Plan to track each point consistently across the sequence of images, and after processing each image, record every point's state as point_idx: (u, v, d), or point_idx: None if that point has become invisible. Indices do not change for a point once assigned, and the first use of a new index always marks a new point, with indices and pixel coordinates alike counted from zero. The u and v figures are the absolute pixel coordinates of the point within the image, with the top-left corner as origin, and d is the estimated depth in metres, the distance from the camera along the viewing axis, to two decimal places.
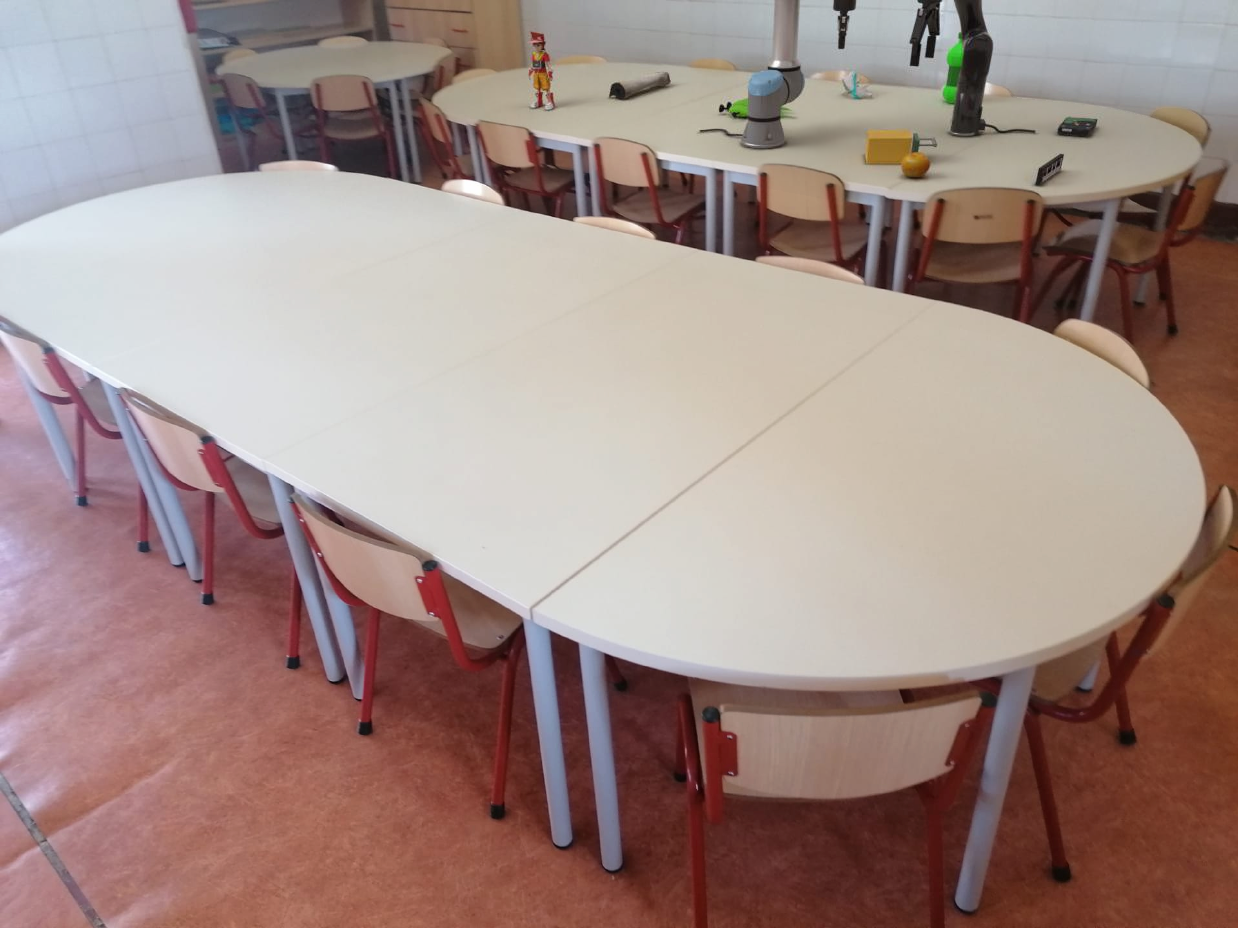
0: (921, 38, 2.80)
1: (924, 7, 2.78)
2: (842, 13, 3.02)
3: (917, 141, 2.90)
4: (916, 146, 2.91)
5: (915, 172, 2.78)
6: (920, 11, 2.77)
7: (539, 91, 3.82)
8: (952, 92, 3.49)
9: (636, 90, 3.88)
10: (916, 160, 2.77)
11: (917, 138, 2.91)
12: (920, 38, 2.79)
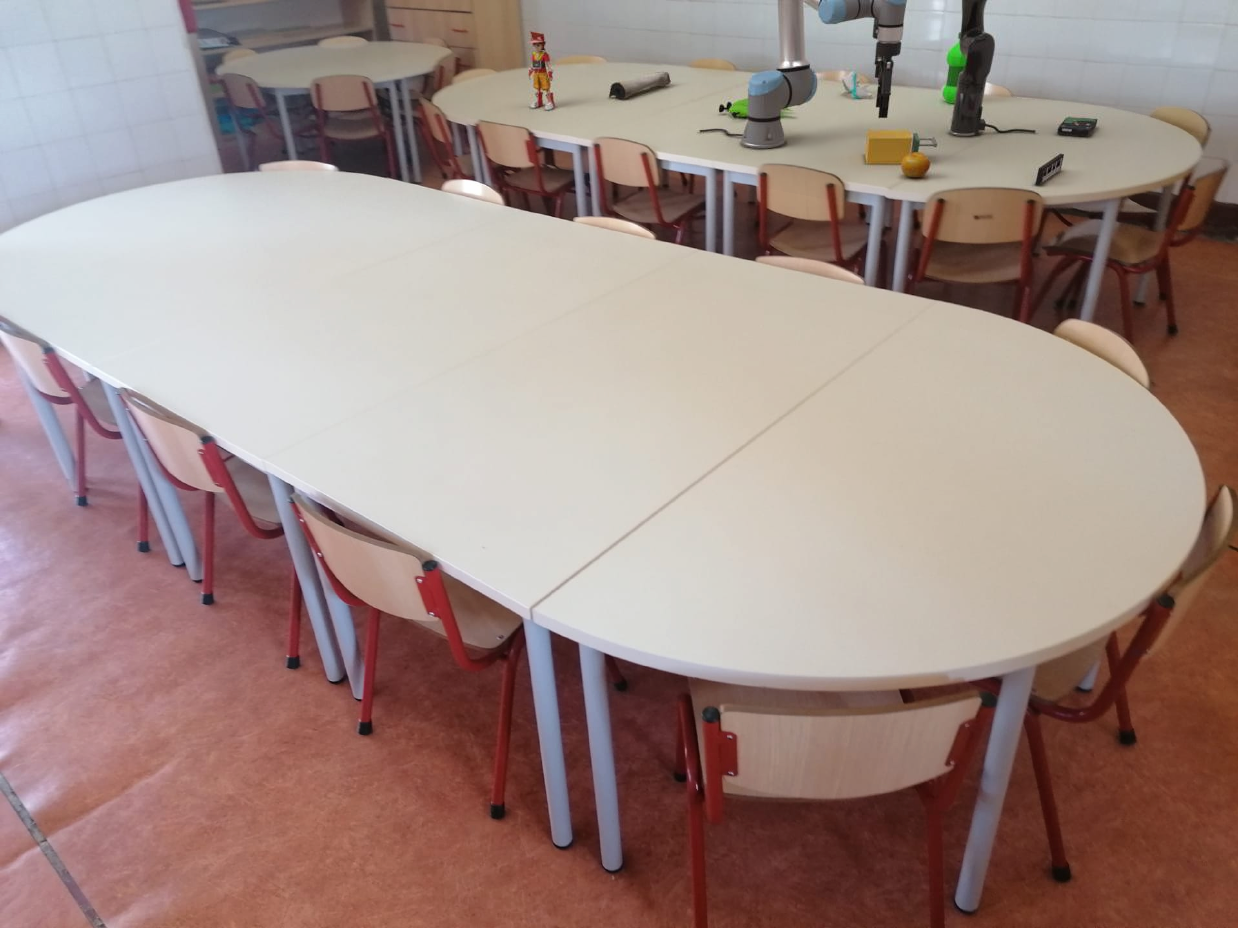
0: (879, 81, 2.92)
1: None
2: None
3: (917, 141, 2.90)
4: (916, 146, 2.91)
5: (915, 172, 2.78)
6: None
7: (539, 91, 3.82)
8: (952, 92, 3.49)
9: (636, 90, 3.88)
10: (916, 160, 2.77)
11: (917, 138, 2.91)
12: (879, 80, 2.92)
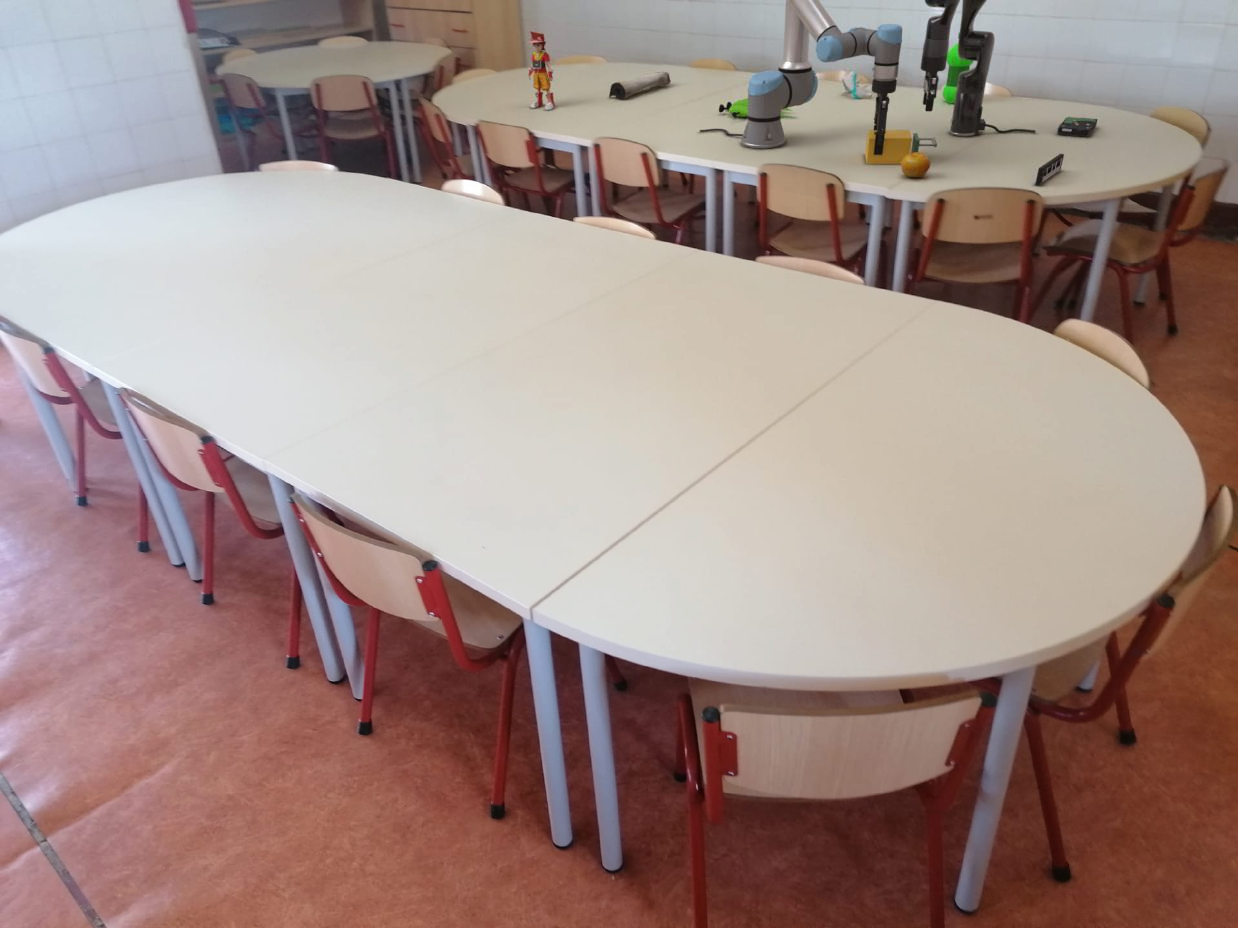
0: (875, 119, 2.97)
1: None
2: None
3: (917, 141, 2.90)
4: (916, 146, 2.91)
5: (915, 172, 2.78)
6: None
7: (539, 91, 3.82)
8: (952, 92, 3.49)
9: (636, 90, 3.88)
10: (916, 160, 2.77)
11: (917, 138, 2.91)
12: (875, 119, 2.98)
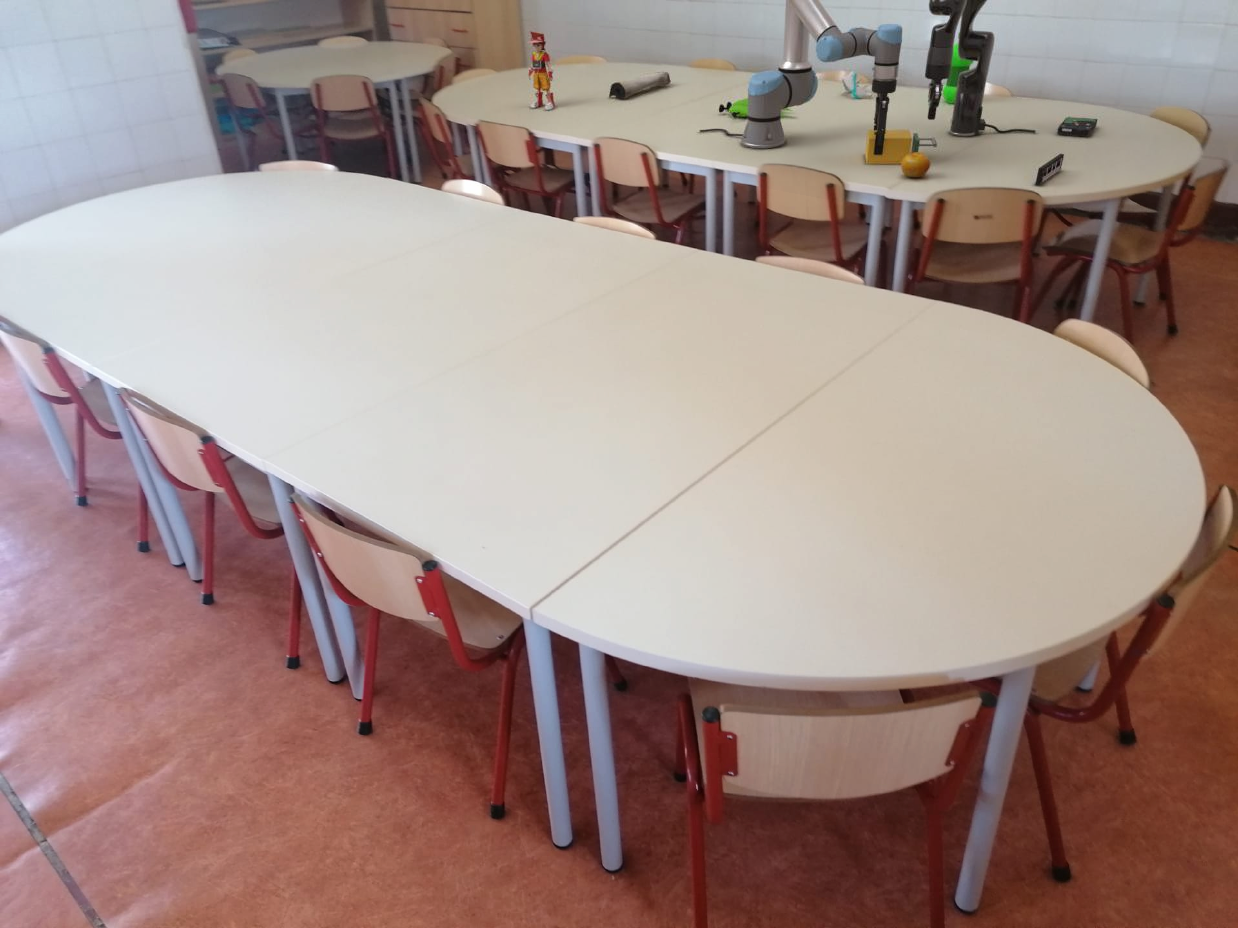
0: (875, 119, 2.97)
1: None
2: None
3: (917, 141, 2.90)
4: (916, 146, 2.91)
5: (915, 172, 2.78)
6: None
7: (539, 91, 3.82)
8: (952, 92, 3.49)
9: (636, 90, 3.88)
10: (916, 160, 2.77)
11: (917, 138, 2.91)
12: (875, 119, 2.98)
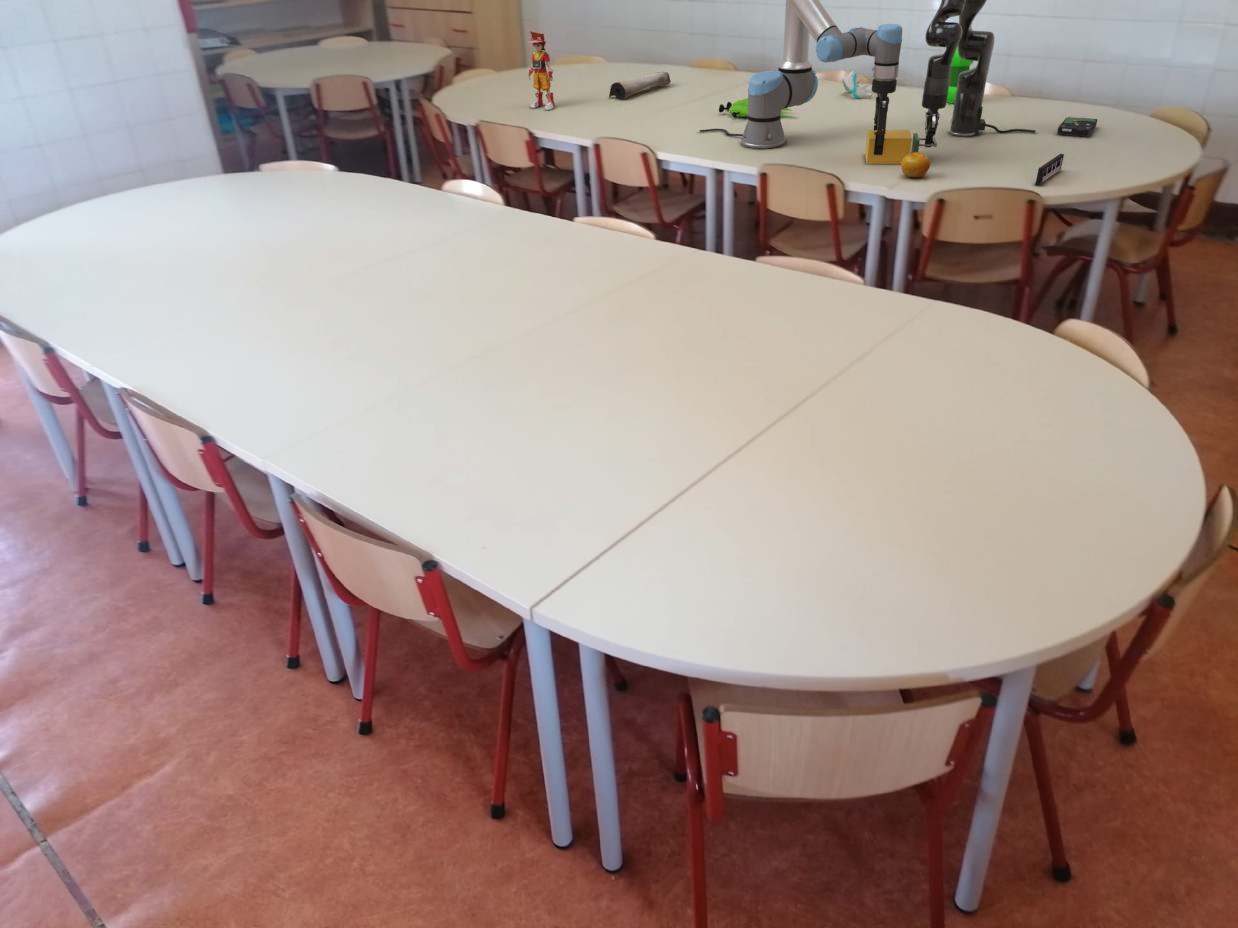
0: (875, 119, 2.97)
1: None
2: None
3: (917, 141, 2.90)
4: (916, 146, 2.91)
5: (915, 172, 2.78)
6: None
7: (539, 91, 3.82)
8: (952, 92, 3.49)
9: (636, 90, 3.88)
10: (916, 160, 2.77)
11: (917, 138, 2.91)
12: (875, 119, 2.98)
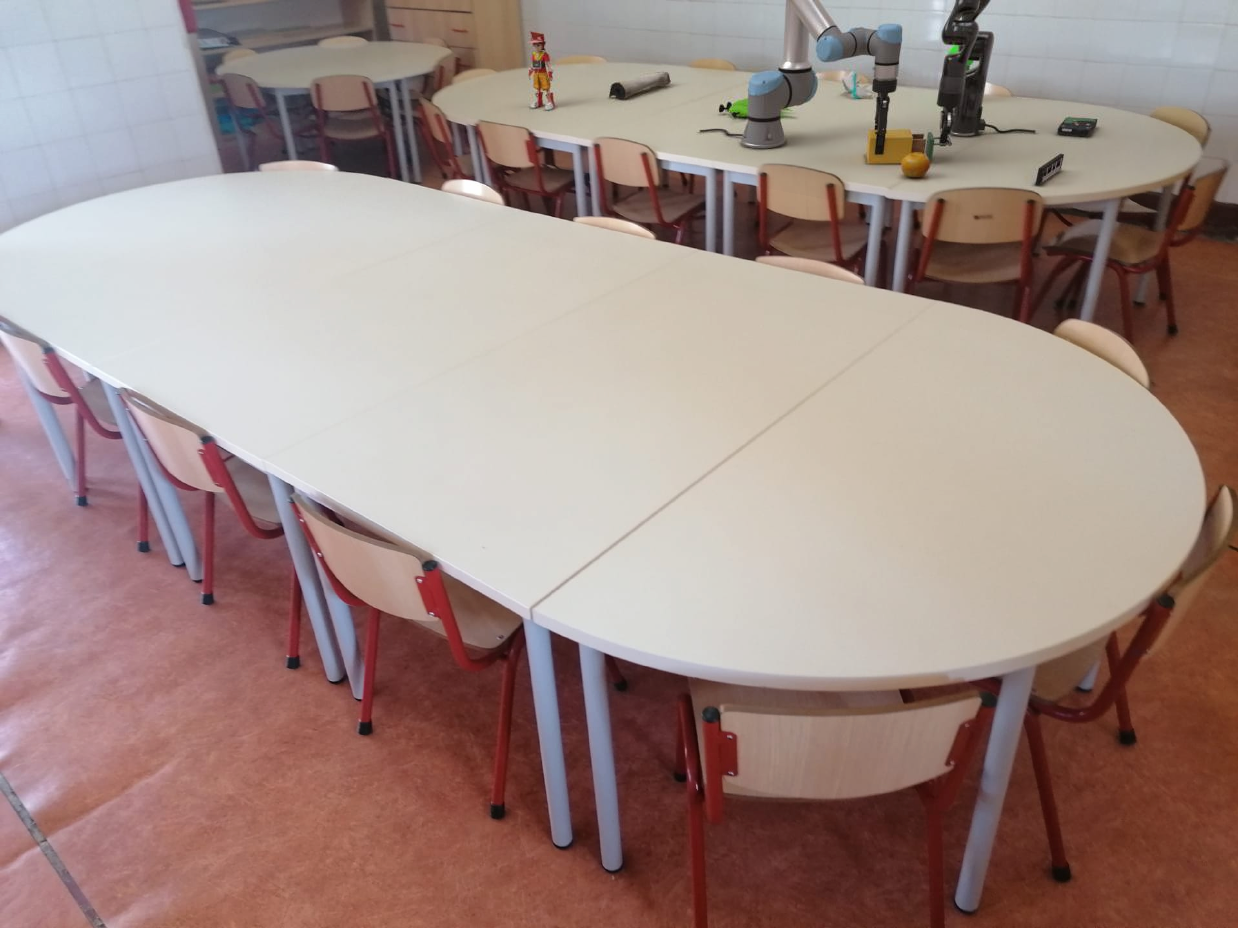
0: (875, 119, 2.97)
1: None
2: None
3: (932, 140, 2.89)
4: (931, 145, 2.90)
5: (915, 172, 2.78)
6: None
7: (539, 91, 3.82)
8: None
9: (636, 90, 3.88)
10: (916, 160, 2.77)
11: (932, 137, 2.90)
12: (875, 118, 2.98)
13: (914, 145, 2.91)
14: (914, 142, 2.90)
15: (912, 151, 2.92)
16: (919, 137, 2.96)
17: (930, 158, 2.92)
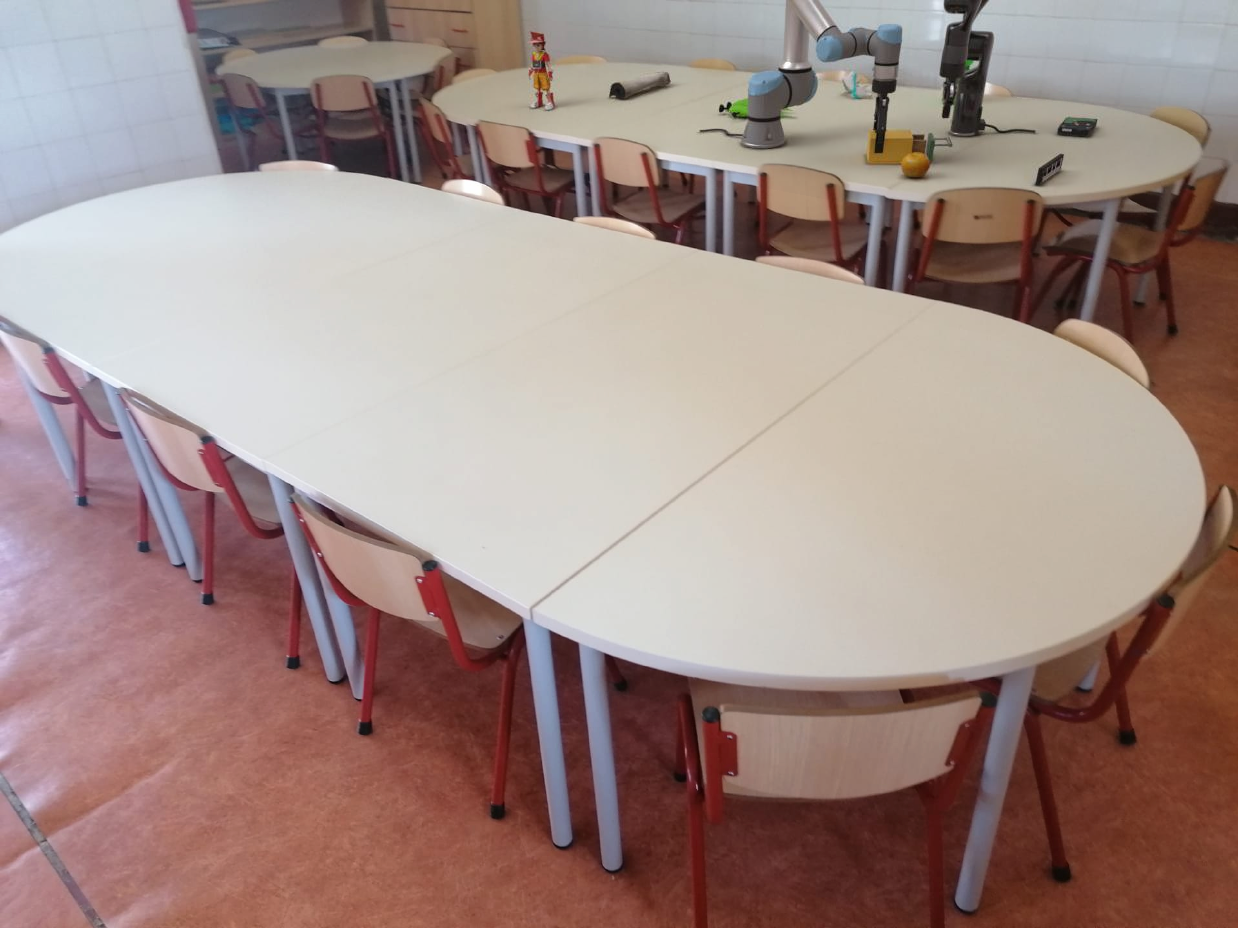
0: (875, 116, 2.98)
1: None
2: None
3: (932, 141, 2.89)
4: (931, 146, 2.90)
5: (915, 172, 2.78)
6: None
7: (539, 91, 3.82)
8: None
9: (636, 90, 3.88)
10: (916, 160, 2.77)
11: (932, 138, 2.90)
12: None
13: (914, 146, 2.91)
14: (915, 142, 2.91)
15: (913, 152, 2.92)
16: (920, 138, 2.96)
17: (930, 159, 2.92)
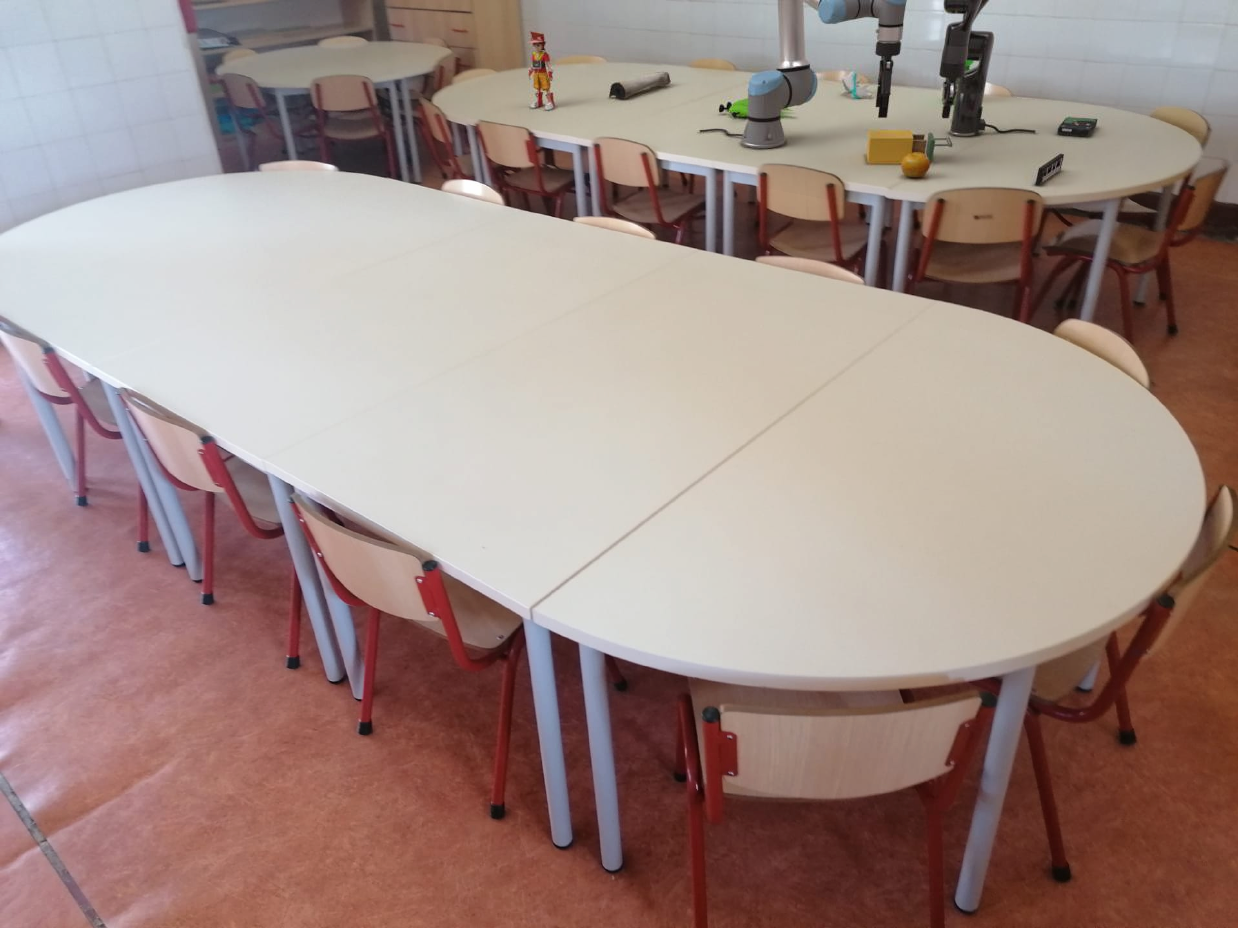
0: (878, 80, 2.92)
1: None
2: None
3: (932, 141, 2.89)
4: (931, 146, 2.90)
5: (915, 172, 2.78)
6: None
7: (539, 91, 3.82)
8: None
9: (636, 90, 3.88)
10: (916, 160, 2.77)
11: (932, 138, 2.90)
12: (878, 79, 2.92)
13: (914, 146, 2.91)
14: (915, 142, 2.91)
15: (913, 152, 2.92)
16: (920, 138, 2.96)
17: (930, 159, 2.92)
